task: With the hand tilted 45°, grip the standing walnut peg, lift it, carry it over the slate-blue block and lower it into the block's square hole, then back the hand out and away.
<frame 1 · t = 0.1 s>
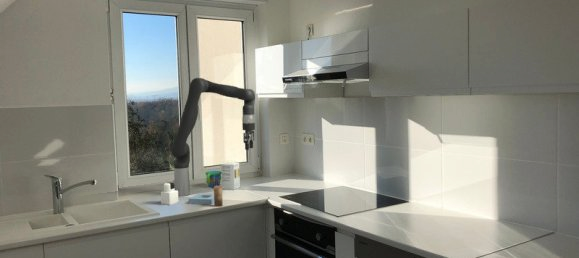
hand: (249, 149, 297), 29 cm above the worktop, tool pointing down, fingers open, 8 cm apart
walnut peg: (218, 205, 278), on the worktop
socket block: (205, 201, 289), on the worktop
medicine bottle: (169, 203, 287), on the worktop
snack cup: (214, 186, 335), on the worktop
supplement box: (231, 188, 327), on the worktop
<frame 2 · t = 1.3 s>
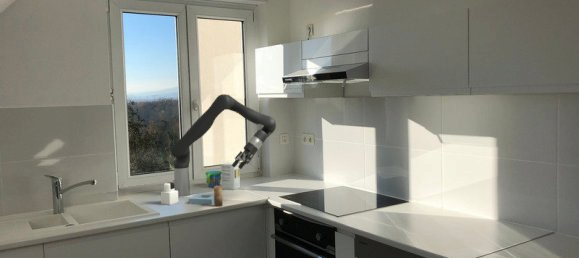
hand: (236, 167, 282), 21 cm above the worktop, tool tilted 45°, fingers open, 8 cm apart
nothing on the worktop moved.
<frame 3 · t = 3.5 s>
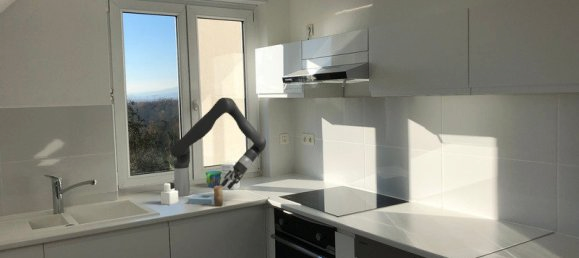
hand: (225, 186, 279), 10 cm above the worktop, tool tilted 45°, fingers open, 8 cm apart
nothing on the worktop moved.
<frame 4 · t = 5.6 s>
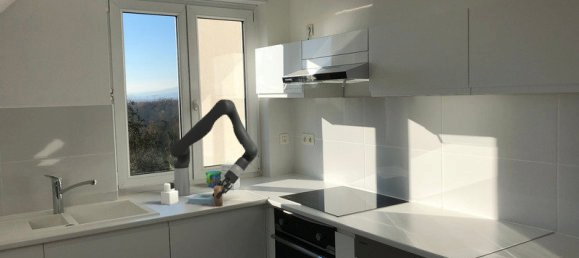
hand: (215, 197, 276), 5 cm above the worktop, tool tilted 45°, fingers closed on walnut peg, 4 cm apart
walnut peg: (218, 205, 278), on the worktop, touching gripper
everything else where it was.
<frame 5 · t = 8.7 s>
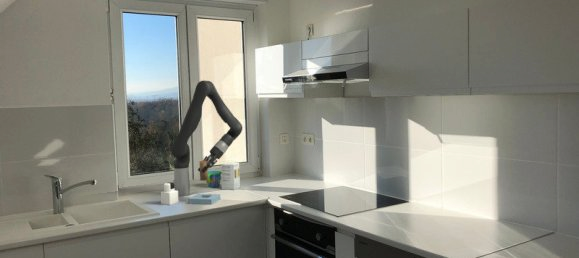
hand: (200, 171, 287), 18 cm above the worktop, tool tilted 45°, fingers closed on walnut peg, 4 cm apart
walnut peg: (204, 179, 288), point 13 cm above the worktop, touching gripper
everything else where it was.
when the fingers open (8 cm above the worktop, at t = 11.6 s): walnut peg drops 2 cm, resting in socket block.
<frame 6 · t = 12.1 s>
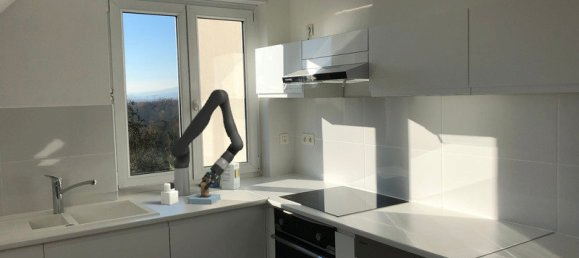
hand: (202, 188, 288), 8 cm above the worktop, tool tilted 45°, fingers open, 8 cm apart
walnut peg: (205, 201, 289), resting in socket block
everything else where it was.
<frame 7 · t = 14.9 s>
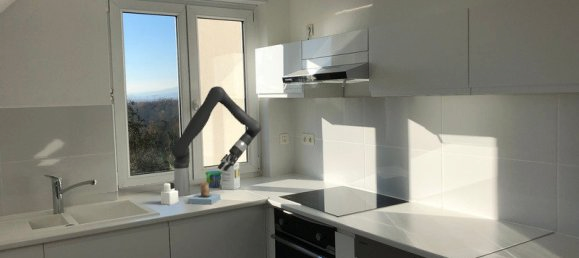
hand: (221, 169, 294), 18 cm above the worktop, tool tilted 45°, fingers open, 8 cm apart
nothing on the worktop moved.
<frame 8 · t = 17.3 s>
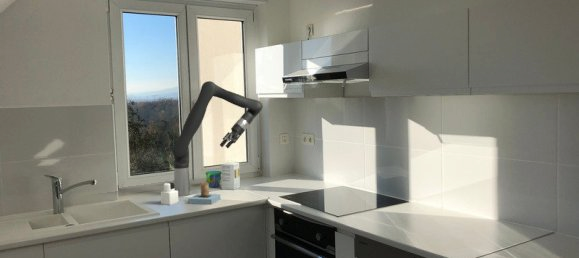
hand: (223, 146, 300), 31 cm above the worktop, tool tilted 45°, fingers open, 8 cm apart
nothing on the worktop moved.
at the end: walnut peg 0.1 cm off-centre on the socket block, point 0.0 cm above the socket block's base; walnut peg tilted 0°; the gripper is holding nothing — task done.
